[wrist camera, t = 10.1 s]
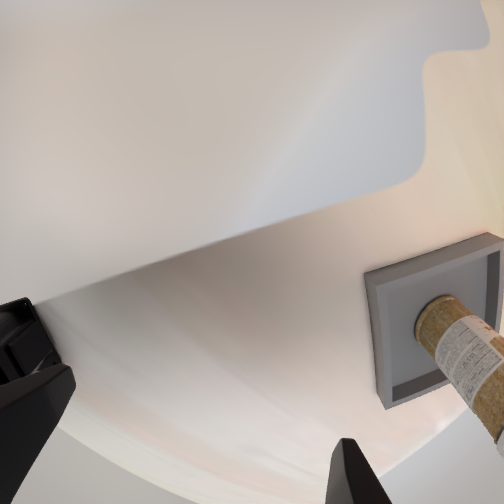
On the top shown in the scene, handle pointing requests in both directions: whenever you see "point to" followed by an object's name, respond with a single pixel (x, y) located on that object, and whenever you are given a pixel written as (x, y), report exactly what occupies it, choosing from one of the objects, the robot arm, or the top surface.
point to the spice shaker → (467, 359)
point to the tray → (417, 299)
